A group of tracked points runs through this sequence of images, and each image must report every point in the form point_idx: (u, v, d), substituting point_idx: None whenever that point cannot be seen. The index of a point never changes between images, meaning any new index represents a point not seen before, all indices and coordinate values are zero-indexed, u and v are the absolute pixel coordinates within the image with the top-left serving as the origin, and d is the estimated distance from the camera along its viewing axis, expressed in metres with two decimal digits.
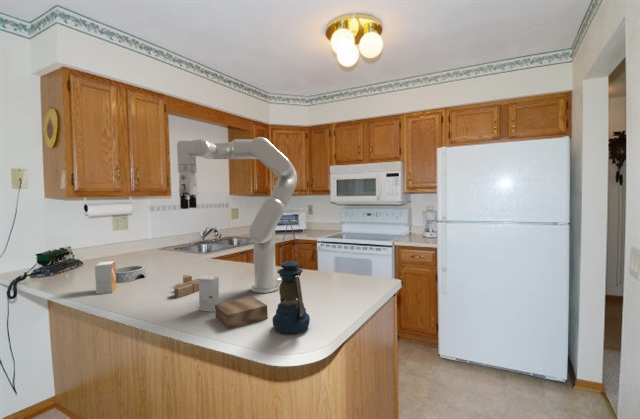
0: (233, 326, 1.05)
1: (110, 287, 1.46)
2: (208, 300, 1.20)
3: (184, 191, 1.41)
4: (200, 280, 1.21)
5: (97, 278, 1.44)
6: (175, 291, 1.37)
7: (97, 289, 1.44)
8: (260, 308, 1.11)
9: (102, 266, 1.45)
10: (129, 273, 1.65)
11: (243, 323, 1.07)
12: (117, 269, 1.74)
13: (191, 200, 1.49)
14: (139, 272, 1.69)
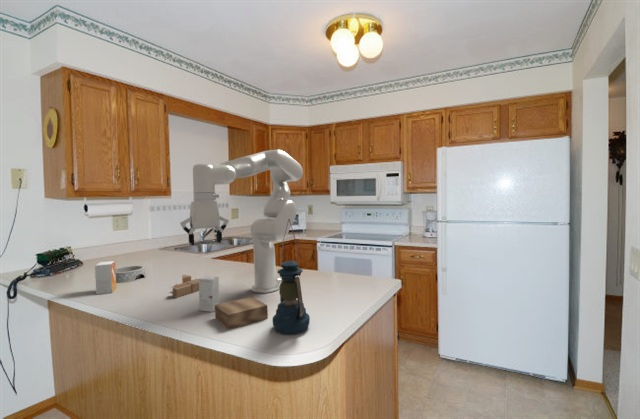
0: (234, 326, 1.05)
1: (110, 287, 1.46)
2: (208, 300, 1.20)
3: None
4: (200, 280, 1.21)
5: (97, 278, 1.44)
6: (173, 291, 1.37)
7: (97, 289, 1.44)
8: (260, 308, 1.11)
9: (102, 266, 1.45)
10: (129, 273, 1.65)
11: (244, 323, 1.07)
12: (117, 269, 1.74)
13: None
14: (139, 272, 1.69)
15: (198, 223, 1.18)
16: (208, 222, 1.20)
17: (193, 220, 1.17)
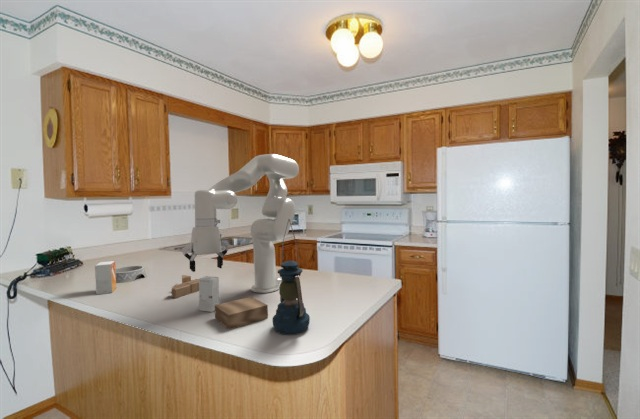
0: (234, 326, 1.05)
1: (110, 287, 1.46)
2: (208, 300, 1.20)
3: None
4: (200, 280, 1.21)
5: (97, 278, 1.44)
6: (172, 291, 1.37)
7: (97, 289, 1.44)
8: (261, 308, 1.11)
9: (102, 266, 1.45)
10: (129, 273, 1.65)
11: (244, 323, 1.07)
12: (117, 269, 1.74)
13: None
14: (139, 272, 1.69)
15: (199, 250, 1.18)
16: (209, 248, 1.20)
17: (194, 247, 1.17)
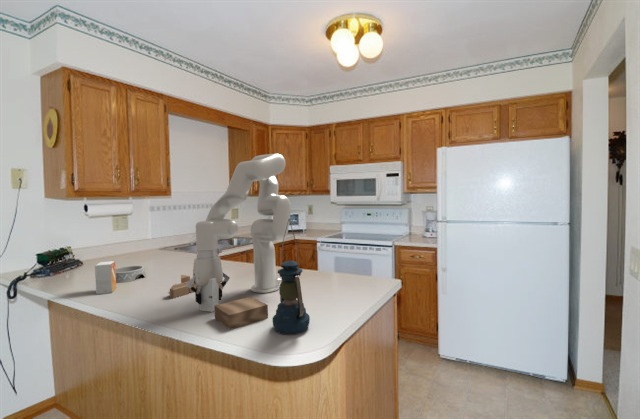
0: (235, 326, 1.05)
1: (110, 287, 1.46)
2: (208, 300, 1.20)
3: None
4: None
5: (97, 278, 1.44)
6: (170, 291, 1.37)
7: (97, 289, 1.44)
8: (261, 307, 1.11)
9: (102, 266, 1.45)
10: (129, 273, 1.65)
11: (244, 323, 1.07)
12: (117, 269, 1.74)
13: None
14: (139, 272, 1.69)
15: (202, 281, 1.19)
16: (211, 278, 1.21)
17: (197, 278, 1.18)
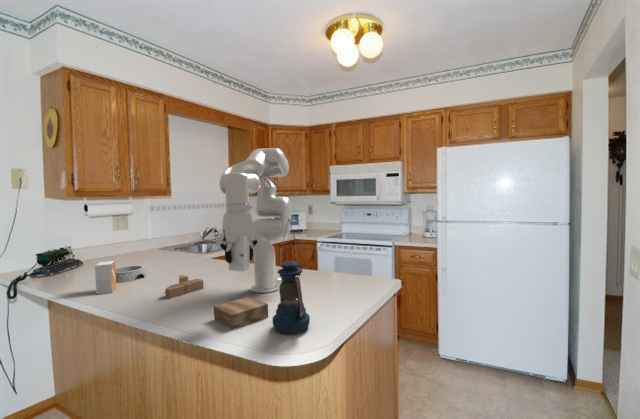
0: (237, 326, 1.05)
1: (110, 287, 1.46)
2: (238, 258, 1.10)
3: None
4: None
5: (97, 278, 1.44)
6: (166, 292, 1.36)
7: (97, 289, 1.44)
8: (261, 307, 1.12)
9: (102, 266, 1.45)
10: (129, 273, 1.66)
11: (246, 322, 1.08)
12: (117, 269, 1.74)
13: None
14: (139, 272, 1.70)
15: (232, 237, 1.08)
16: None
17: (227, 234, 1.07)
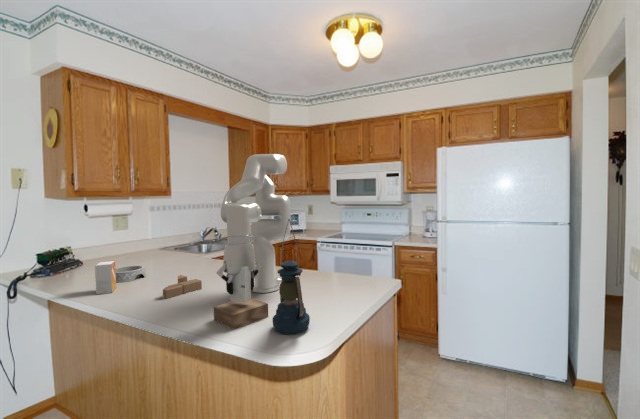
0: (238, 326, 1.05)
1: (110, 287, 1.46)
2: (240, 290, 1.10)
3: None
4: None
5: (97, 278, 1.44)
6: (163, 292, 1.36)
7: (97, 289, 1.44)
8: (262, 306, 1.12)
9: (102, 266, 1.45)
10: (129, 273, 1.66)
11: (247, 322, 1.08)
12: (116, 269, 1.75)
13: None
14: (139, 272, 1.70)
15: (233, 269, 1.09)
16: (243, 266, 1.11)
17: (228, 266, 1.08)
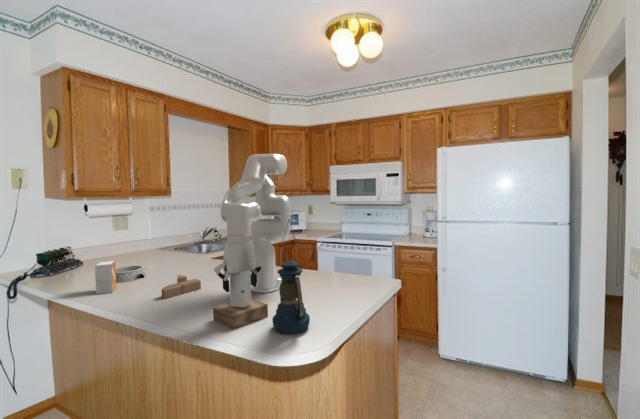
0: (238, 327, 1.05)
1: (110, 287, 1.46)
2: (240, 295, 1.11)
3: None
4: None
5: (97, 278, 1.44)
6: (162, 292, 1.36)
7: (97, 289, 1.44)
8: (261, 307, 1.12)
9: (102, 266, 1.45)
10: (129, 273, 1.66)
11: (246, 323, 1.08)
12: (116, 269, 1.75)
13: None
14: (139, 272, 1.70)
15: (233, 268, 1.09)
16: (243, 266, 1.11)
17: (228, 265, 1.08)
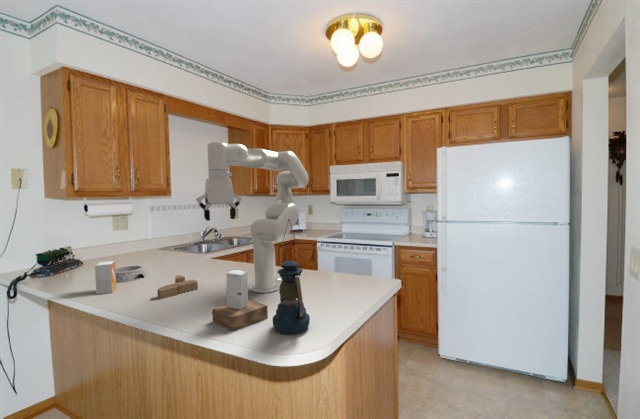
0: (237, 328, 1.04)
1: (110, 287, 1.46)
2: (236, 297, 1.09)
3: None
4: (228, 275, 1.10)
5: (97, 278, 1.44)
6: (158, 292, 1.36)
7: (97, 289, 1.44)
8: (261, 309, 1.11)
9: (102, 266, 1.45)
10: (128, 273, 1.66)
11: (246, 325, 1.06)
12: (116, 269, 1.75)
13: None
14: (138, 272, 1.70)
15: (213, 199, 1.22)
16: (222, 198, 1.24)
17: (209, 196, 1.21)
